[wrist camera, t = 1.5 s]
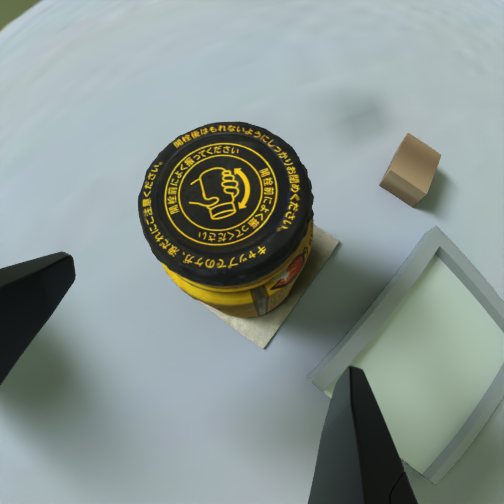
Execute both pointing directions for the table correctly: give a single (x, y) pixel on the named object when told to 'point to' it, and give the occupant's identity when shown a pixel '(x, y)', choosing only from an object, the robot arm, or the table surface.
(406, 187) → the tan block
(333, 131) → the table surface
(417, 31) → the table surface
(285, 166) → the condiment
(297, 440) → the table surface
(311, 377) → the holder
